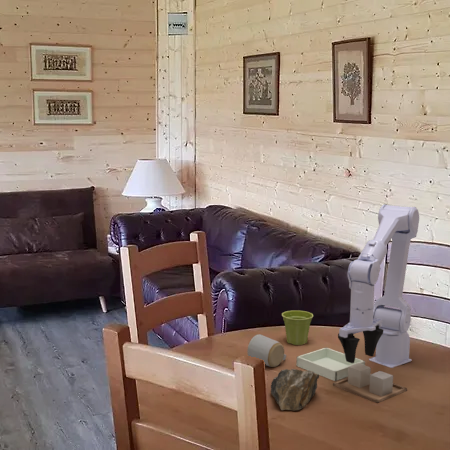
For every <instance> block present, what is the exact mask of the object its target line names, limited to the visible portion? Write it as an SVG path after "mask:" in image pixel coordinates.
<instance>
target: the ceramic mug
mask: <svg viewBox="0 0 450 450" xmlns="http://www.w3.org/2000/svg"><path fill="white" fill-rule="evenodd" d="M247 356H251V357H256V358H259V359H262V360H264V362H265V364H266V365H265V366H267V367H270V368H275V367H278V366H279V365H280V364H282V361H285V360H286V358H287V354H285V348H284V345H283V344H282V343H281V342H280V341H278V340H275V339H273V338H270V337H268V336H265V335H263V334H259V333H258V334H255V335H254V336H253V337H252V338H251V340H250V341H249V343H248V345H247Z"/></svg>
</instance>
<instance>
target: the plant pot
mask: <svg viewBox="0 0 450 450" xmlns="http://www.w3.org/2000/svg"><path fill="white" fill-rule="evenodd" d="M281 316H282V318H283V322H284V329H285V338H286V342H287V343H288V344H292V345H293V346H302V345H305V344H308V337H309V333H310V326H311V322H312V320H313V317H314V314H313V313H312V312H309V311H305V310H287V311H284V312H282V313H281Z"/></svg>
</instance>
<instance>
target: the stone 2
mask: <svg viewBox="0 0 450 450" xmlns="http://www.w3.org/2000/svg"><path fill="white" fill-rule="evenodd" d="M393 383H394V374H391V373H387V372H384V371H382V370H379V371H376V372H374V373H371V374H370V389H369V392H371V393H374V394H376V395H379V396H382V397H383V396H385V395H388V394H390V393H392V390H393Z"/></svg>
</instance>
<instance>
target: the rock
mask: <svg viewBox="0 0 450 450" xmlns="http://www.w3.org/2000/svg"><path fill="white" fill-rule="evenodd" d="M319 378H320V375H318V374H315V373H314V372H313V371H308V370H301V369H295V368H291V369H288V368H285V369H281V371H279V372H278V374H277V376H275V377H273V379H272V381H271V382H270V383H271V384H270V394H271V396H272V397H273V398H274V400H275V402H276V404H277V405H278V407H279V408H280V410H281V411H285V410H287V411H301V409H303V408H304V407H306V406H307V404H308V403H310V401H311V400H312V398H314V396H315V394H316V392H317V388H318V379H319Z"/></svg>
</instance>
